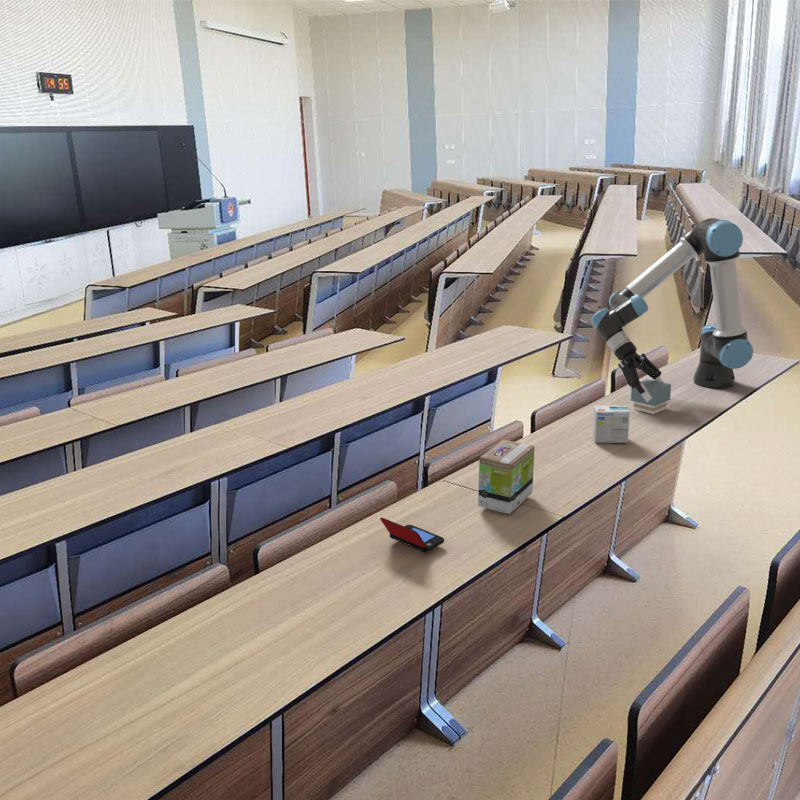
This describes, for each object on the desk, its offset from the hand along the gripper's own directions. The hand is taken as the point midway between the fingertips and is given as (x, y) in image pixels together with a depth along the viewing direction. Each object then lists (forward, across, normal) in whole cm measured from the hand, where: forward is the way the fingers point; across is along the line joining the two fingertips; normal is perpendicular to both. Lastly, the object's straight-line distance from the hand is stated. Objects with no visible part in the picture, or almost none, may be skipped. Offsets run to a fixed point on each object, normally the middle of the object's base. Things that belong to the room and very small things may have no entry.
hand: (658, 396), depth 276 cm
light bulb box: (+7, +35, 0) cm, 35 cm away
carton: (+2, 0, -6) cm, 6 cm away
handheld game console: (+12, +126, +5) cm, 127 cm away
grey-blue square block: (-1, 0, -4) cm, 4 cm away
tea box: (+12, +92, +5) cm, 93 cm away
